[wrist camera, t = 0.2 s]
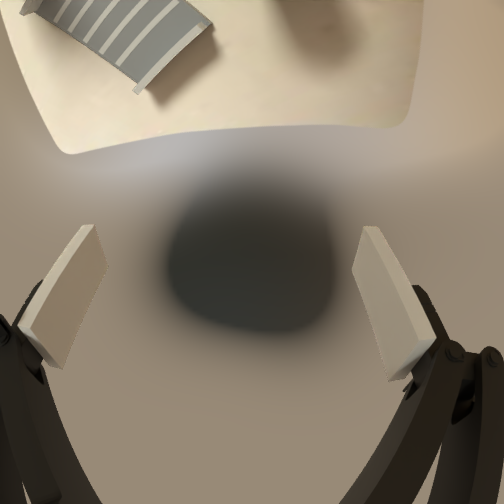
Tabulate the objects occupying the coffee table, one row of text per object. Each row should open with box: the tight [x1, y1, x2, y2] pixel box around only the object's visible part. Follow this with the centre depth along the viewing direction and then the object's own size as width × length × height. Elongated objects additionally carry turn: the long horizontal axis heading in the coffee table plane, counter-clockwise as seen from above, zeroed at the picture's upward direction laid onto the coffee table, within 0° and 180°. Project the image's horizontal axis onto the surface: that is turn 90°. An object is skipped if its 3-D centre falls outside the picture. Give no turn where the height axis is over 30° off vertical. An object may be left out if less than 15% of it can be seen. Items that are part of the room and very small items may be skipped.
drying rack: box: [19, 0, 212, 95], centre depth 20 cm, size 12×22×4 cm, turn 40°
